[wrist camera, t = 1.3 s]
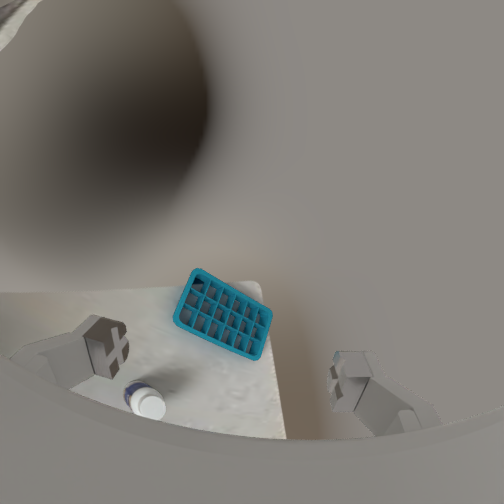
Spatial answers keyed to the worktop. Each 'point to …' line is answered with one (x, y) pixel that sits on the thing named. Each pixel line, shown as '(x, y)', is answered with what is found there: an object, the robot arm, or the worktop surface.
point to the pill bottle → (144, 400)
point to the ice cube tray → (225, 315)
